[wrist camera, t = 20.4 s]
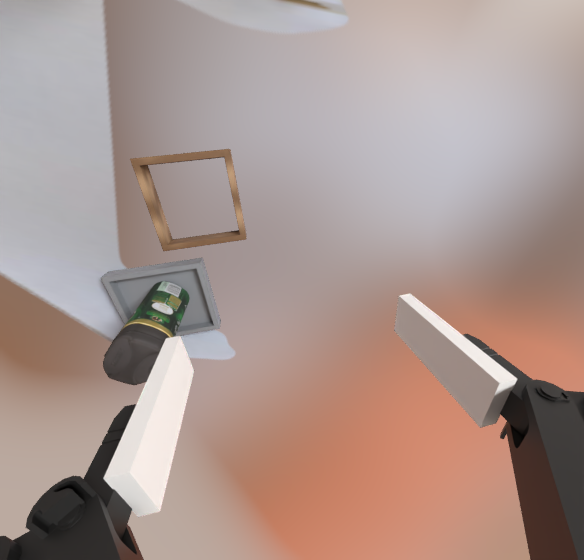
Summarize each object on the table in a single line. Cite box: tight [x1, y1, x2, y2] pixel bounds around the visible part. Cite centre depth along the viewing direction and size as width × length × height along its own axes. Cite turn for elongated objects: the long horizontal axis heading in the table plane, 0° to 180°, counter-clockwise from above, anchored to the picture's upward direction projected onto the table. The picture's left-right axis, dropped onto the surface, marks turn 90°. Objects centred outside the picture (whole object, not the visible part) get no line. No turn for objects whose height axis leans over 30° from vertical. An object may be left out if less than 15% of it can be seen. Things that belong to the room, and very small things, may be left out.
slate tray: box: [101, 258, 221, 337], centre depth 50 cm, size 16×18×3 cm
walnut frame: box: [130, 149, 246, 251], centre depth 42 cm, size 15×15×4 cm
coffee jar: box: [103, 281, 190, 385], centre depth 42 cm, size 10×8×19 cm
